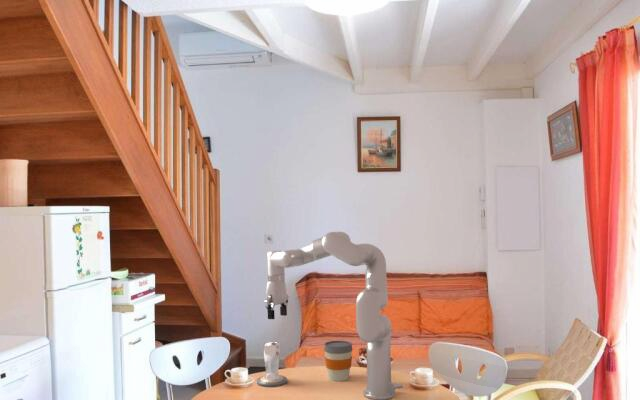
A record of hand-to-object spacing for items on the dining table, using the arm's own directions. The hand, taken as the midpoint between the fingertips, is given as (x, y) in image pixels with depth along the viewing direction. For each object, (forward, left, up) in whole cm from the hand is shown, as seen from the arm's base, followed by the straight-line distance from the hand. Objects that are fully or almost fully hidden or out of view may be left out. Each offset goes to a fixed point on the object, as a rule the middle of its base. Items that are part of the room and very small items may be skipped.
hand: (277, 317), depth 220 cm
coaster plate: (+4, +3, -27) cm, 28 cm away
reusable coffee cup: (-25, +8, -27) cm, 38 cm away
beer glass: (+4, +3, -26) cm, 26 cm away
